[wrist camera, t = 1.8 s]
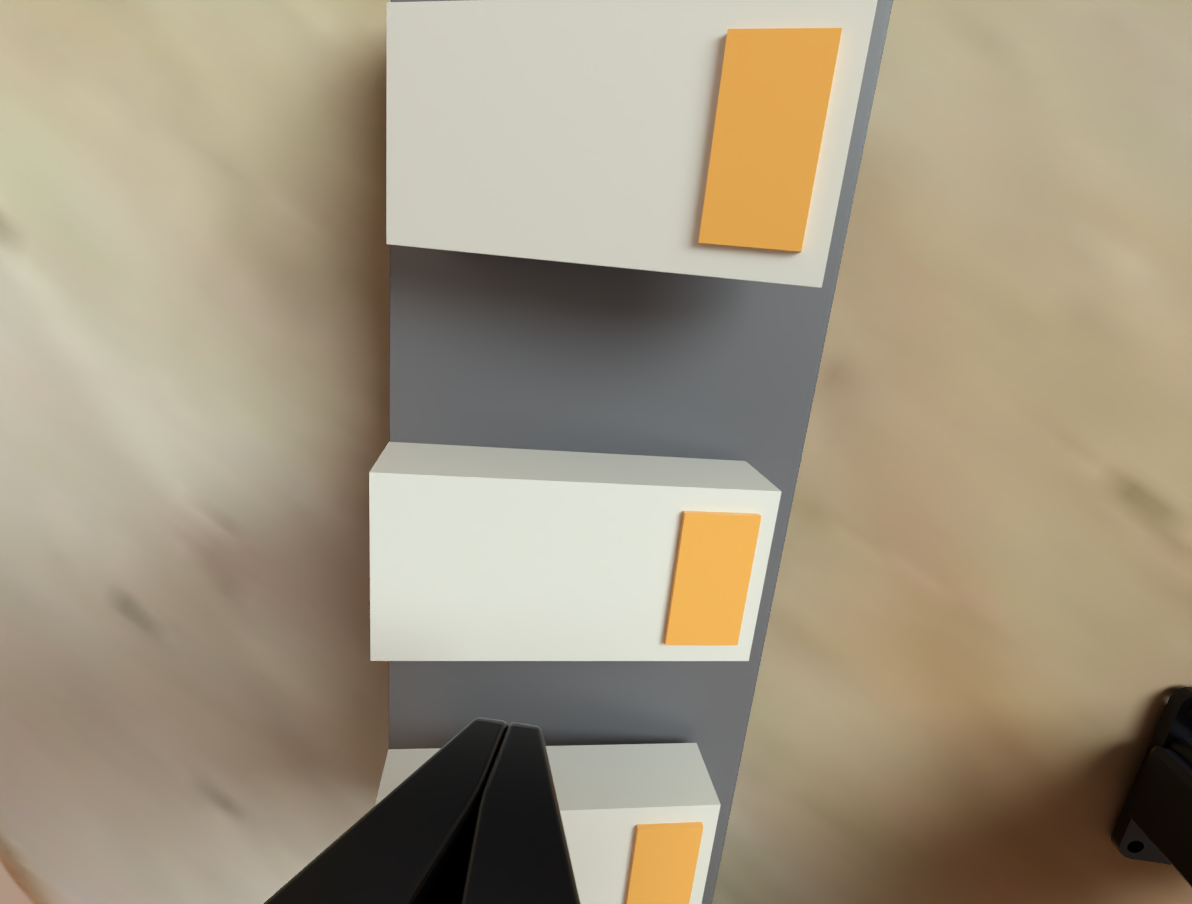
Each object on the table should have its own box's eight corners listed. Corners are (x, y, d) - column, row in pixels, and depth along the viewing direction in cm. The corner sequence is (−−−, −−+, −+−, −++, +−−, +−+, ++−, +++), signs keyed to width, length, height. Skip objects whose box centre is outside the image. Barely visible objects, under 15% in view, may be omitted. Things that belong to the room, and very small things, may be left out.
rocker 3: (696, 742, 17) (722, 809, 15) (676, 856, 18) (698, 933, 16) (388, 749, 15) (370, 823, 13) (387, 871, 17) (371, 957, 15)
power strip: (895, -262, 14) (985, -465, 10) (701, 797, 22) (711, 904, 19) (461, -284, 15) (392, -483, 11) (432, 756, 23) (388, 853, 19)
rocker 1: (866, 42, 10) (880, -16, 8) (819, 288, 12) (821, 287, 10) (447, 44, 13) (380, -2, 11) (442, 249, 14) (381, 243, 12)
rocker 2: (745, 461, 14) (784, 494, 12) (719, 611, 16) (751, 665, 14) (388, 441, 13) (367, 475, 11) (388, 607, 14) (368, 665, 12)
